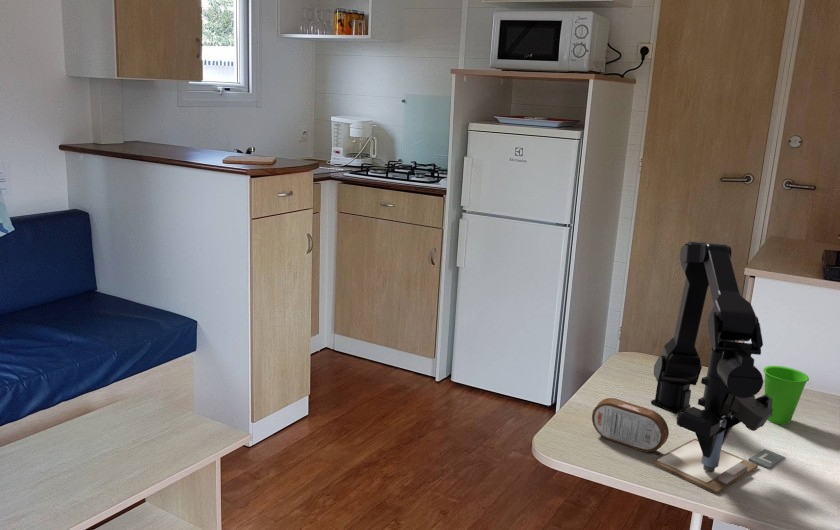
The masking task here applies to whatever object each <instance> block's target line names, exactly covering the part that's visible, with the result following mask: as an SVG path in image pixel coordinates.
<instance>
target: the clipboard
mask: <svg viewBox="0 0 840 530" xmlns="http://www.w3.org/2000/svg"><path fill="white" fill-rule="evenodd" d="M702 454H703V453H702V450H701V447H700V445H699V442H698V439H697V438H693V439H691V440H689V441H688V442H686V443H684V444H681V445H680V446H678V447H676V448H674V449H672V450H670V451H668V452H667V453H664V454H663V455H661V456H658V457H657V458H655V459H653V460H652V461H651V465H653V466H655V467H657V468H658V469H659V468H660V469H661V470H664V471H666V472H667V473H670V474H672V475H674V476H676V477H678V478H680V479H682V480H685V481H687V482H689V483H691V484H693V485H695V486H697V487H700V488H702V489H704V490H707V491H708V492H710V493H712V494H714V495H718V494H719V493H721V492H723V491H724V490H726V489H728V488H729V487H731V486H733V485H734V484H736V483H737V482H738V481H740V480H741V479H743V478H744V477H746V476H748V475H749V474H751V473H752V472H754V471H755V470H757V469H759V465H758V464H756V463H753V462H751V461H749V460H746V459H744V458H742V457H739V456H737V455H735V454H733V453H730V452H728V451H725V450H723V449H721V454H720V460H719V466H718V467H716V468H715V471H714V472H708V471H705V470H704V469H703V466H704V465H703V464H702V463H701V460H702Z"/></svg>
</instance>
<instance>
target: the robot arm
mask: <svg viewBox="0 0 840 530" xmlns="http://www.w3.org/2000/svg"><path fill="white" fill-rule="evenodd" d="M679 261H680V266H681V267H680V268H681V269H682V271H683V274H684V275H685V281H684V285H683V286H684V287H683V291H682V295H681V300H680V306H679V310H678V316H677V320H676V326H675V330H674V334H673V338H671V339H670V340H669V341H668V342H667V343H665V344H664V346H663V349H662V352H661V355H659V357H658V358H657V359H656V361H655V362H654V365H653V375H654V378H655V380H656V381H657V384H656V391H655V398H654V399H652V400H651V401H650V403H651V404H652V405H655V406H657V407H660V408H663V409H664V410H668V411H670V412H672V413H674V414H677V418H676V426H678V427H680V428H683V429H685V430H688V431H691V432H692V433H694V434H695V437H696V439H697V440H698V442H699V445H700V447H701V450H702V453H703V456H705V457H707V458H709V457H710V456H711V453H712V450H713V447H714V444H715V441H716V438H717V435H718V434H720V433H722V432H724V437H723V442H722V446H723V445H724V444H725V441H726V439H727V437H728V435H729V433H730V431H731V430H732V428H733V427H734V426H737V425H738V424H740V423H742V424H743V425H744V426H745V428H747V429H748V430H750V431H753V432H754V431H755V432H756V431H757V430H758V429H760V428H763V426H765V424H766V422H767V421H768V420H767V419H768V418H769V417H771V416H772V415H773V413H772V411H773V409H772V398H770V397H769V396H767V395H766V394H765V393H764V394H763V395H761V396H759V397H756V396H755V395H757V394H758V393H759V392H760V391H761V389H762V388H763V385H764V378H763V375H762V373H761V371H760V370H759V369H758V368H757V367H756V366H755V358H753V356H752V355H758V356H759V355H760V356H761V355H762V349H761V348H762V347H763V345H764V342H763V337H762V336H763V335H762V329H761V323H760V321H759V317H758V316H757V315H756V312H755V311H754V308H753V305H752V303H750V302H749V301H748V300H747V299H746V298H744V297H743V296H742V294H741V292H740V289H739V285H738V281H737V276H736V273H735V269H734V266H733V262H732V247H731V246H730V245H727V244H726V243H725V244H724V243H717V242H704V241H692V240H690V241H689V240H688V241H687V243H684V245H682V246H681V248H680V252H679ZM708 288H709V290H710V295H711V299H712V303H713V304H712V305H713V306H712V308H711V310H710V313H709V314H708V319H707V328H708V335H709V342H710V346H711V349H710V353H709V361H708V368H707V374H706V376H703V377H702V378H701V380H700V381H701V382H700V383H701V385H705V386H704V392H703V396H702V397H699V398H698V401H697V405H699V406H701V407H704V408H703V409H701V408H698V407H695V406H691V404H690V400H691V395H692V390H691V389H690V387H691V386H697V383H698V380H699V377H700V374H701V371H702V369H703V365H701V364H702V363H701V358H700V356H699V352H698V351H697V348H696V343H697V338H698V334H699V328H700V325H701V320H702V315H703V312H704V307H705V302H706V297H707V294H708ZM749 341H750V342H749ZM748 342H749V343H748ZM723 417H724V418H725V419H726V420H727V423H726V427H725V428H723V427H721V423H722V421H723Z"/></svg>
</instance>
